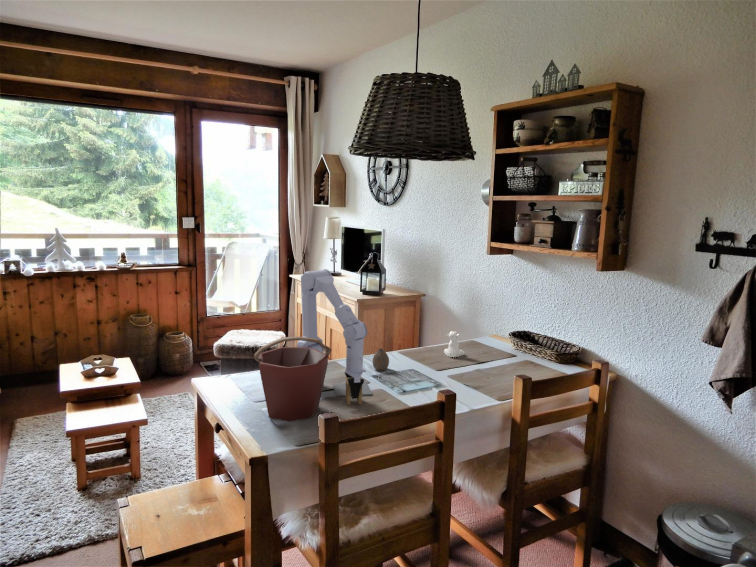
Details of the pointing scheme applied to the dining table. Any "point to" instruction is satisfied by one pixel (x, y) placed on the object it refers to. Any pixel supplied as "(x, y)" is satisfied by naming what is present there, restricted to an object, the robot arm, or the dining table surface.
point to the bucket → (292, 378)
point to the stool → (348, 393)
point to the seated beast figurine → (453, 345)
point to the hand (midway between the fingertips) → (353, 395)
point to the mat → (341, 390)
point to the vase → (380, 360)
